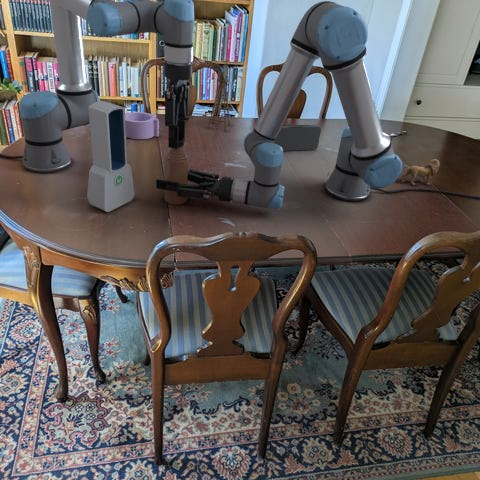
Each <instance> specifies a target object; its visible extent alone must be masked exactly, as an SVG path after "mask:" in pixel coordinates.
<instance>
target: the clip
mask: <svg viewBox="0 0 480 480" xmlns="http://www.w3.org/2000/svg"><path fill="white" fill-rule="evenodd" d="M159 120H160V119H158V118H157V114H156V113H148V112H143V111H132V112H131V111H130V112H127V113H125V127H126V138H129V139H132V140H148V139H151V138H153V137H156V138H157V137H159V136H160V121H159Z"/></svg>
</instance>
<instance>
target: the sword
mask: <svg viewBox="0 0 480 480" xmlns="http://www.w3.org/2000/svg"><path fill="white" fill-rule="evenodd" d="M404 134H406V133H402V134H400V132H393V133H390V134H387V135H388V136H389V137H390V138H391V137H394V136H395V137H398V136H399V135H404Z"/></svg>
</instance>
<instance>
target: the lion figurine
mask: <svg viewBox="0 0 480 480" xmlns="http://www.w3.org/2000/svg"><path fill="white" fill-rule="evenodd" d="M440 166H441V163H440V161H439V160H438V159H436V158H433V159H430V160H429V162H428V163H427V164H426V166H418V165H411V166H410V167H408V169H407V170H406V172H405V173H404V175H403V176H402V178H401V181H400V182H401V184H403V183H405V182H406V177H408V176H410V180H409V181H410V183H411V185H412V186H415V185H416V183H415V182H414V181H415V179H416V177H419V178H420V182H423V183H425V185H427V186H429V185H430V183H429V181H431V178H432V177H433V176H435V175H436V174H437V172H438V171H439V168H440ZM425 177H426V179H425Z"/></svg>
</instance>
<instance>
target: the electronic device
mask: <svg viewBox="0 0 480 480" xmlns="http://www.w3.org/2000/svg"><path fill="white" fill-rule="evenodd" d="M88 109H89V121H90V124H89V130H90V144H91V155H92V165H91V166H90V169H89V171H88V182H87V195H86V197H87V201H88V203H89V205H91V206H92V207H95V208H97V209H99V210H101V211H103V212H106V213H110V212H112V211H114V210H115V209H118V208H120V207H122V206H123V205H125V204H127V203H130V202H132V201H133V199H134V197H135V187H134V179H133V171H132V165H131V164H129V163H128V153H127V137H126V127H125V114H126V108H125V107H124V106H120V105H117V104H115V103H111V102H108V101H104V100H100V101H98V102H95V103H93V104H91V105H90V106H89V107H88Z"/></svg>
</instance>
